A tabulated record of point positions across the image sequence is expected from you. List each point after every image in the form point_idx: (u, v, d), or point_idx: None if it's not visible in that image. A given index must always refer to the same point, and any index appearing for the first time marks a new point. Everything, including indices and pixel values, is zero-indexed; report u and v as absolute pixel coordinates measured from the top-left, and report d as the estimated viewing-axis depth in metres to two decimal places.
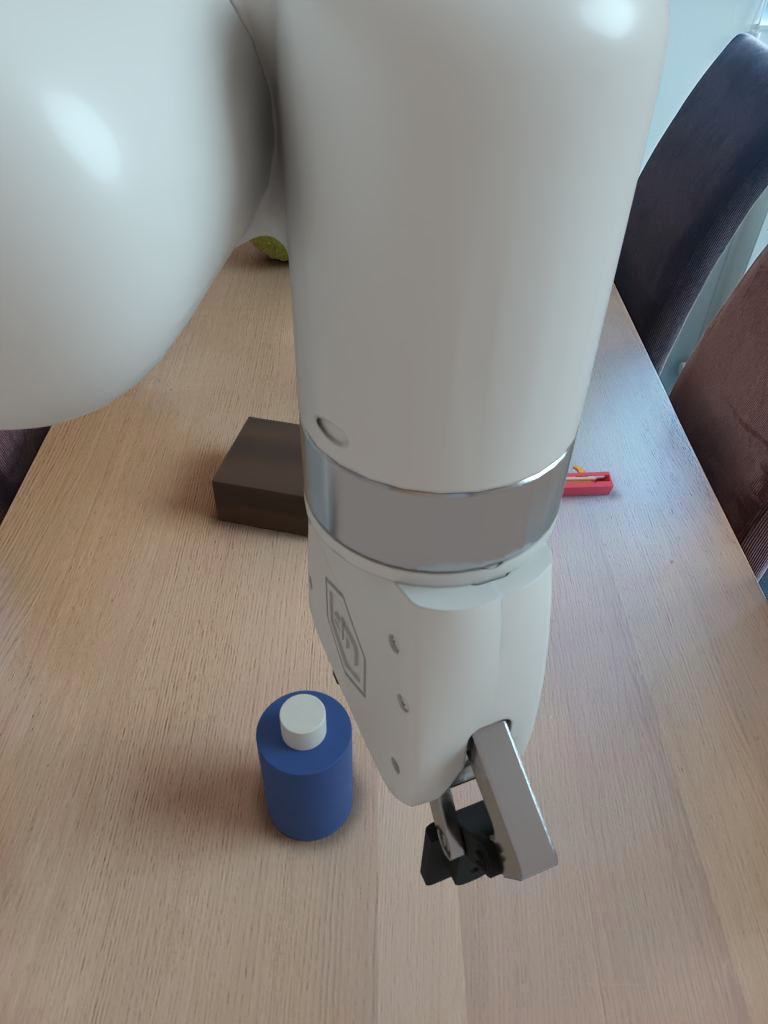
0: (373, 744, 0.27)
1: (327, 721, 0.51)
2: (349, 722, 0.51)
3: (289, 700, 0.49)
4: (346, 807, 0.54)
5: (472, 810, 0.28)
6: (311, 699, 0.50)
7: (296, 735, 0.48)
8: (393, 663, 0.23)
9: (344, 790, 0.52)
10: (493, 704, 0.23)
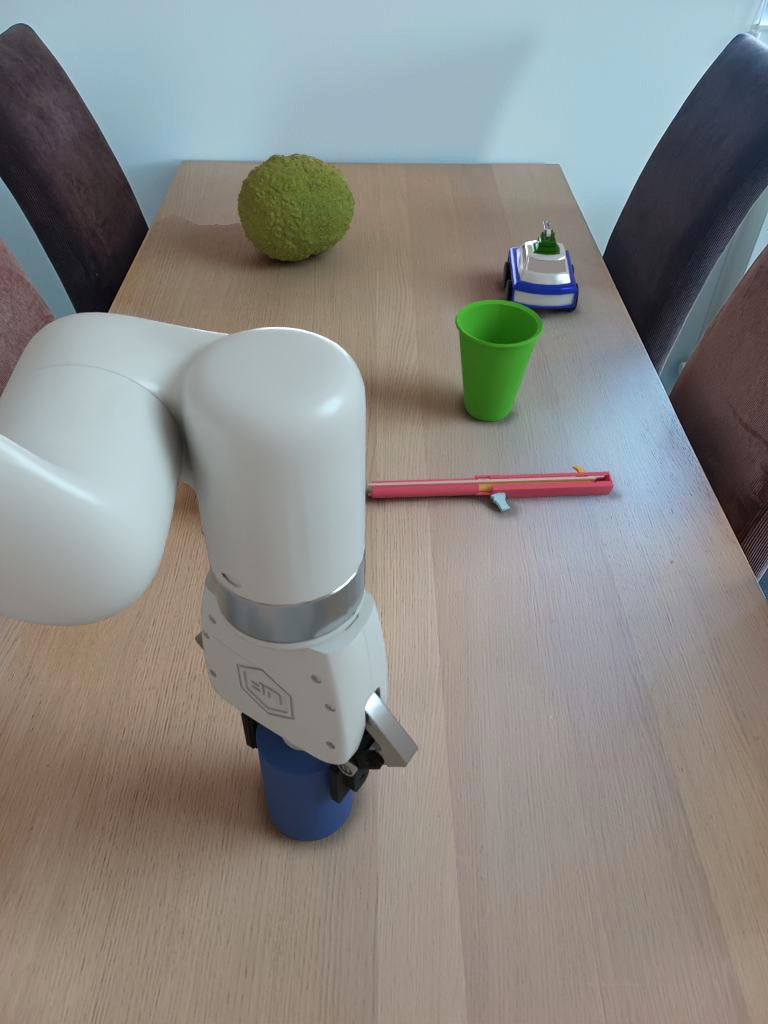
0: (306, 743, 0.44)
1: None
2: None
3: None
4: (346, 807, 0.54)
5: None
6: None
7: None
8: (318, 689, 0.40)
9: None
10: (371, 683, 0.42)
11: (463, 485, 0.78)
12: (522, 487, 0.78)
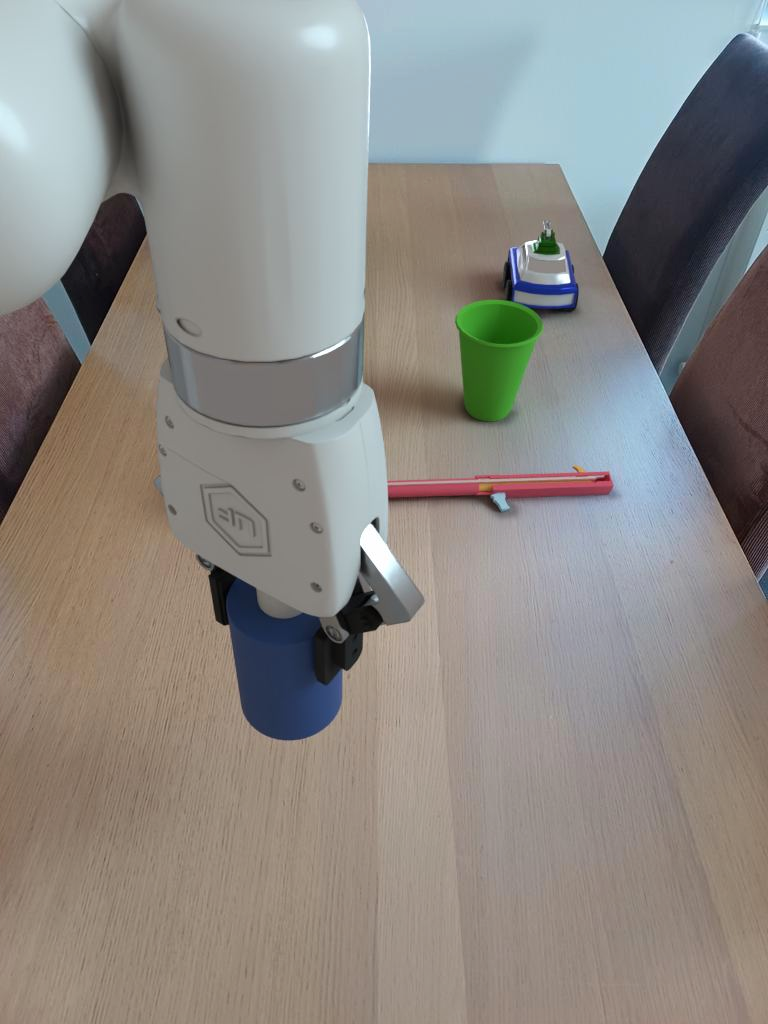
0: (286, 590, 0.35)
1: None
2: None
3: None
4: (334, 701, 0.46)
5: None
6: None
7: None
8: (301, 501, 0.31)
9: None
10: (369, 506, 0.33)
11: (463, 485, 0.78)
12: (522, 486, 0.78)
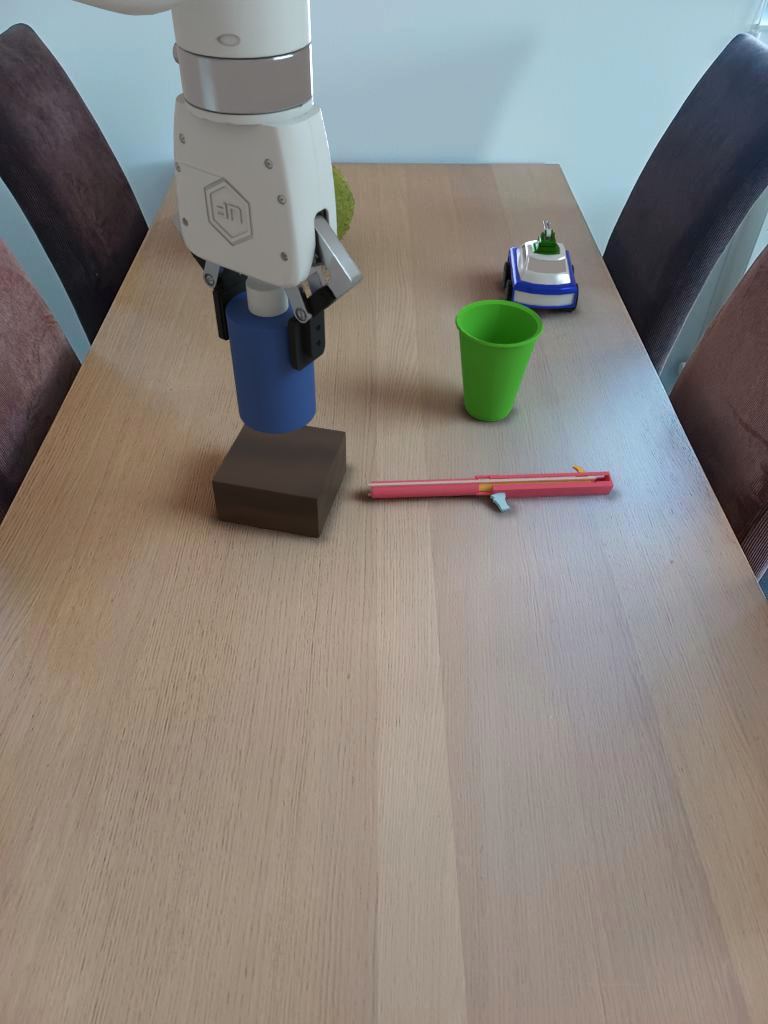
0: (265, 267, 0.51)
1: (289, 303, 0.57)
2: None
3: None
4: (308, 403, 0.61)
5: None
6: None
7: (260, 294, 0.55)
8: (271, 177, 0.46)
9: (305, 375, 0.59)
10: (319, 194, 0.48)
11: (463, 485, 0.78)
12: (522, 487, 0.78)
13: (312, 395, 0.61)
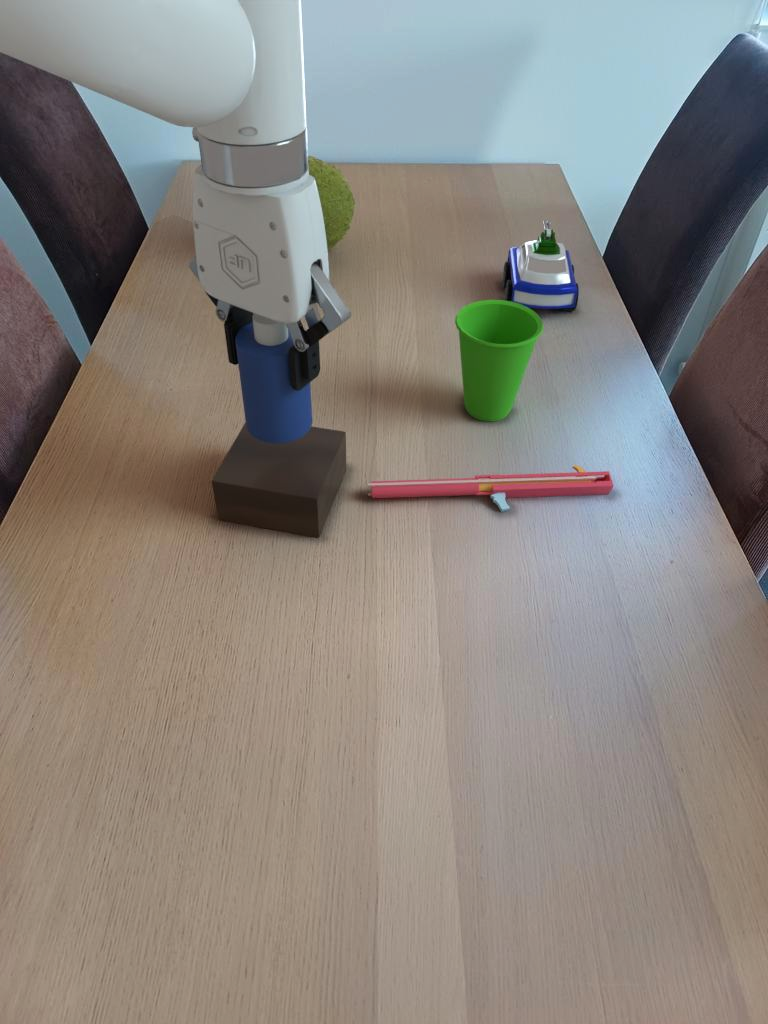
0: (269, 307, 0.61)
1: None
2: None
3: None
4: (306, 417, 0.71)
5: None
6: None
7: (264, 327, 0.65)
8: (275, 236, 0.57)
9: (303, 393, 0.69)
10: (314, 248, 0.59)
11: (463, 485, 0.78)
12: (522, 486, 0.78)
13: (309, 410, 0.71)
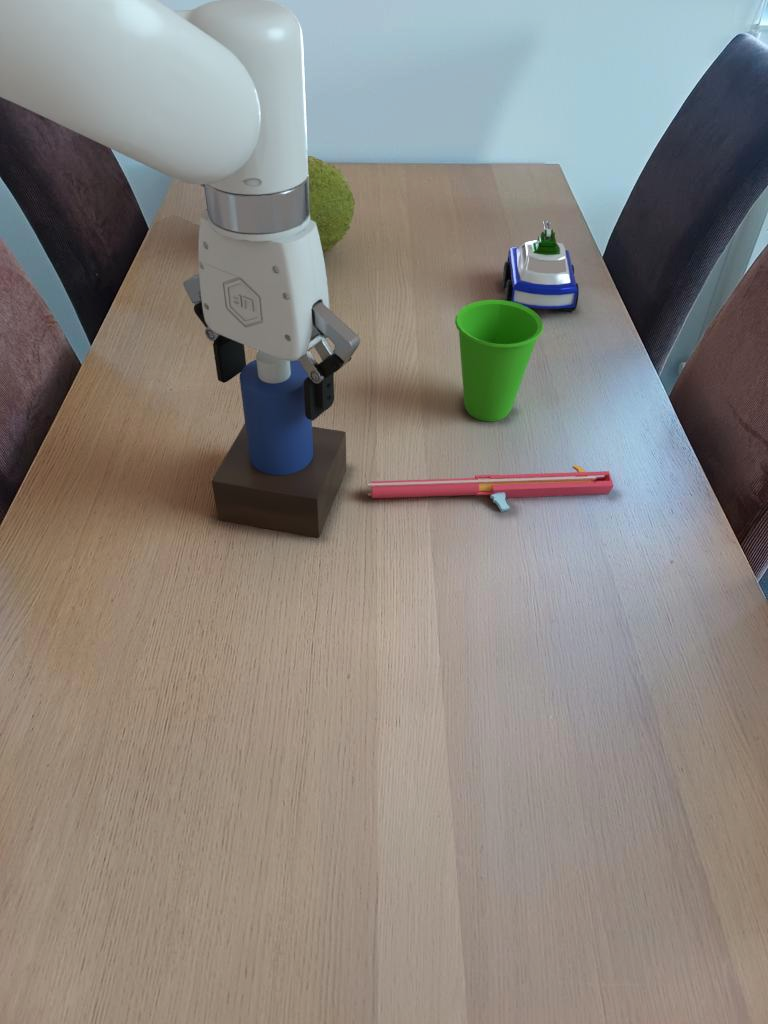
0: (272, 344, 0.63)
1: (291, 370, 0.70)
2: None
3: None
4: (307, 450, 0.73)
5: (319, 363, 0.65)
6: None
7: (268, 366, 0.67)
8: (277, 279, 0.59)
9: (304, 428, 0.72)
10: (315, 289, 0.61)
11: (463, 485, 0.78)
12: (522, 486, 0.78)
13: (310, 443, 0.74)
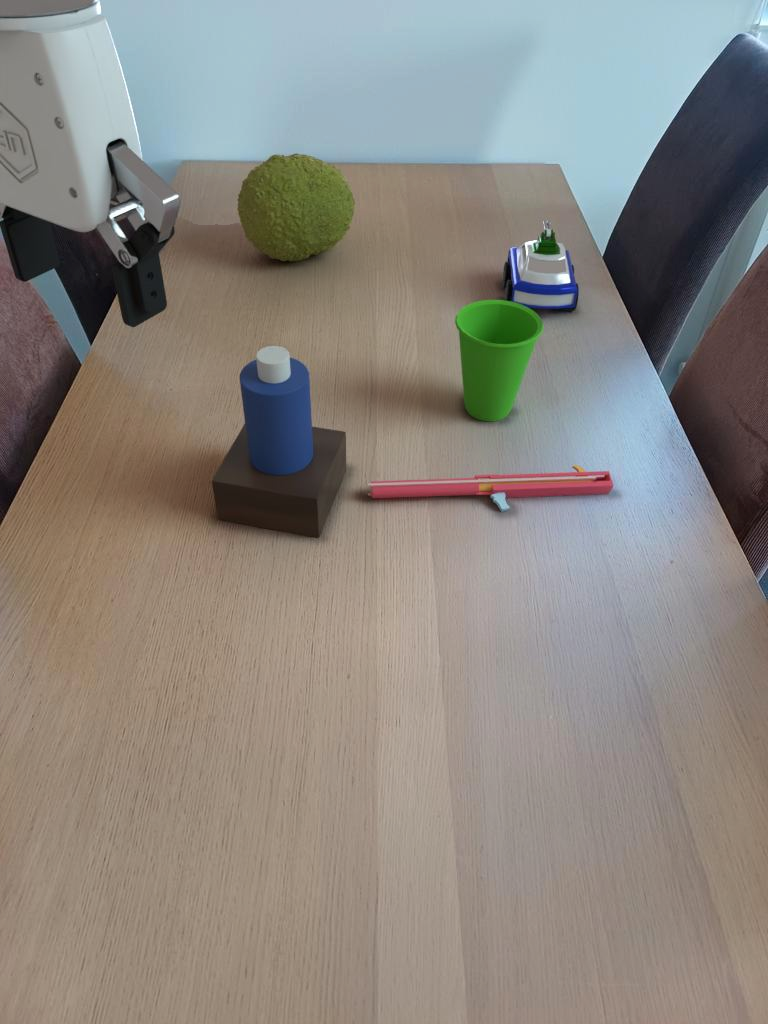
0: (56, 207, 0.44)
1: (291, 370, 0.70)
2: (307, 371, 0.70)
3: (263, 348, 0.69)
4: (307, 450, 0.73)
5: None
6: (279, 348, 0.69)
7: (268, 366, 0.67)
8: (43, 95, 0.40)
9: (304, 428, 0.72)
10: (110, 120, 0.42)
11: (463, 485, 0.78)
12: (522, 486, 0.78)
13: (310, 443, 0.74)
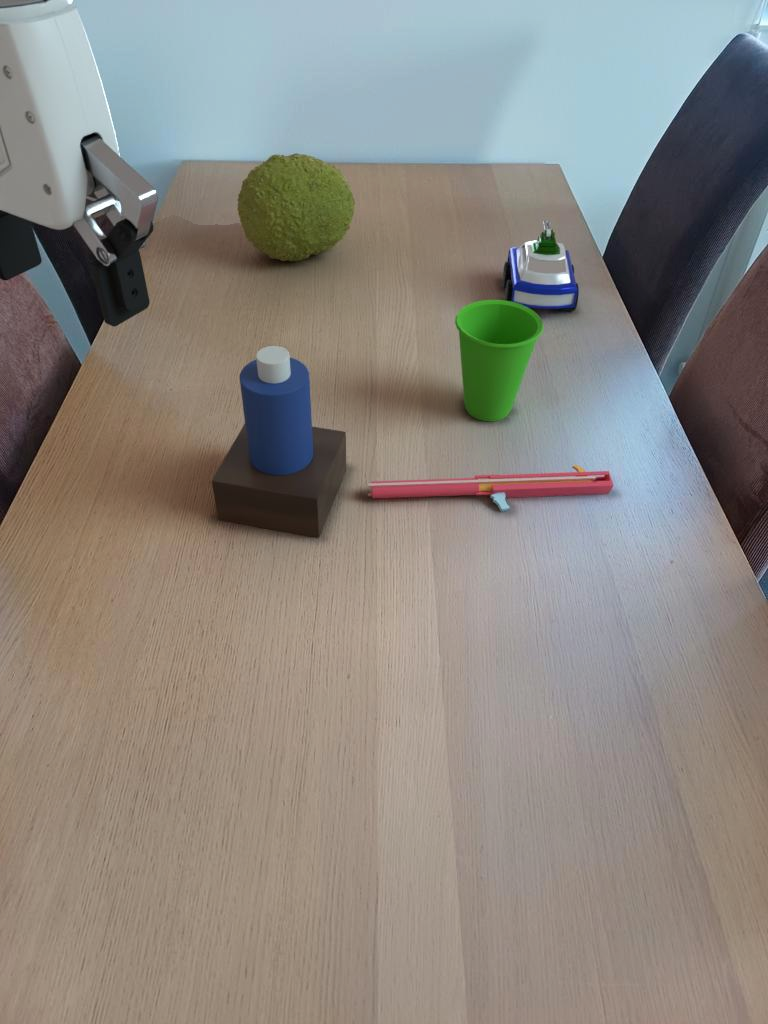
0: (31, 204, 0.43)
1: (291, 370, 0.70)
2: (307, 371, 0.70)
3: (263, 348, 0.69)
4: (307, 450, 0.73)
5: None
6: (279, 348, 0.69)
7: (268, 366, 0.67)
8: (13, 89, 0.39)
9: (304, 428, 0.72)
10: (83, 113, 0.41)
11: (463, 485, 0.78)
12: (522, 486, 0.78)
13: (310, 443, 0.74)
